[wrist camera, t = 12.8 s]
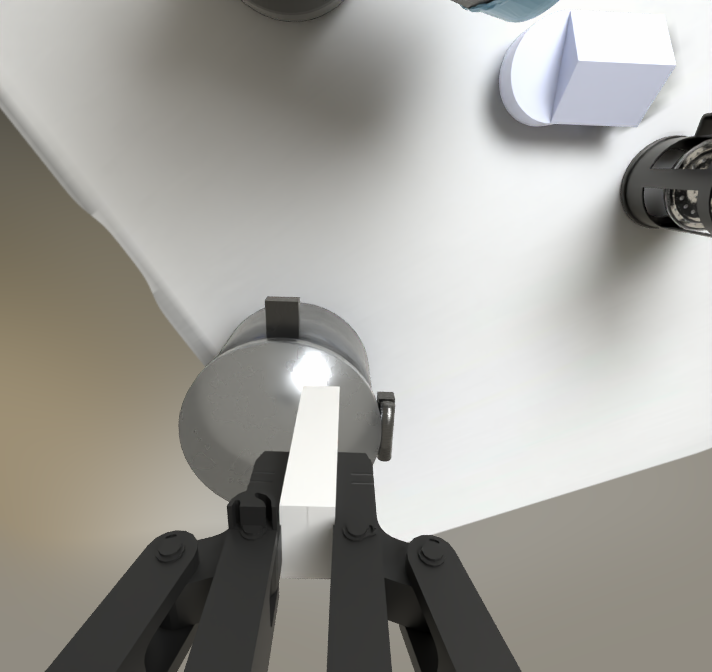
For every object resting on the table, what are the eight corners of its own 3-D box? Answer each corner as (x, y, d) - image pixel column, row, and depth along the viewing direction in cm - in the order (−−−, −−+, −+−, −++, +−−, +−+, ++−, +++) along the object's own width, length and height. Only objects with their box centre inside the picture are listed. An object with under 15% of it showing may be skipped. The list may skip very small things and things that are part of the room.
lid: (171, 336, 38) (161, 347, 36) (398, 338, 39) (403, 349, 37) (193, 506, 45) (186, 525, 43) (386, 503, 46) (389, 520, 44)
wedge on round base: (640, 26, 41) (506, 19, 41) (692, 1, 35) (536, -8, 35) (616, 129, 45) (492, 124, 44) (660, 123, 38) (517, 117, 38)
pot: (215, 270, 49) (176, 301, 38) (389, 275, 50) (402, 307, 38) (230, 454, 58) (203, 522, 47) (377, 456, 59) (385, 524, 48)
